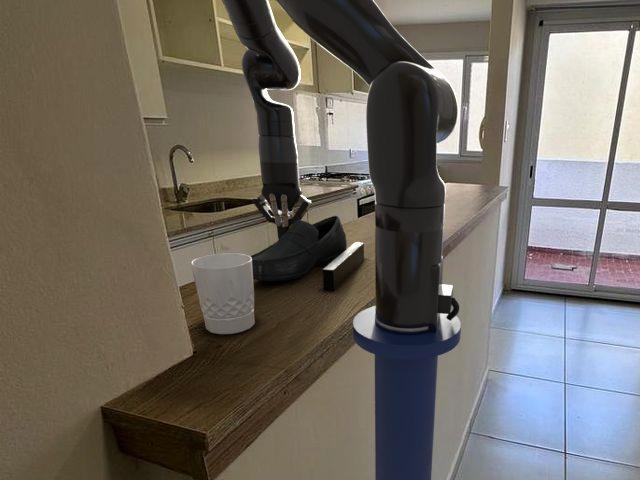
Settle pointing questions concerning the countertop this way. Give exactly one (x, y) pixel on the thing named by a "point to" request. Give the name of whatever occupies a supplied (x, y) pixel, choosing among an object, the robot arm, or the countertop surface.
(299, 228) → the loafer
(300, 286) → the countertop surface
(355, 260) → the shoe rail
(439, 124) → the robot arm
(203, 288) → the white cup
